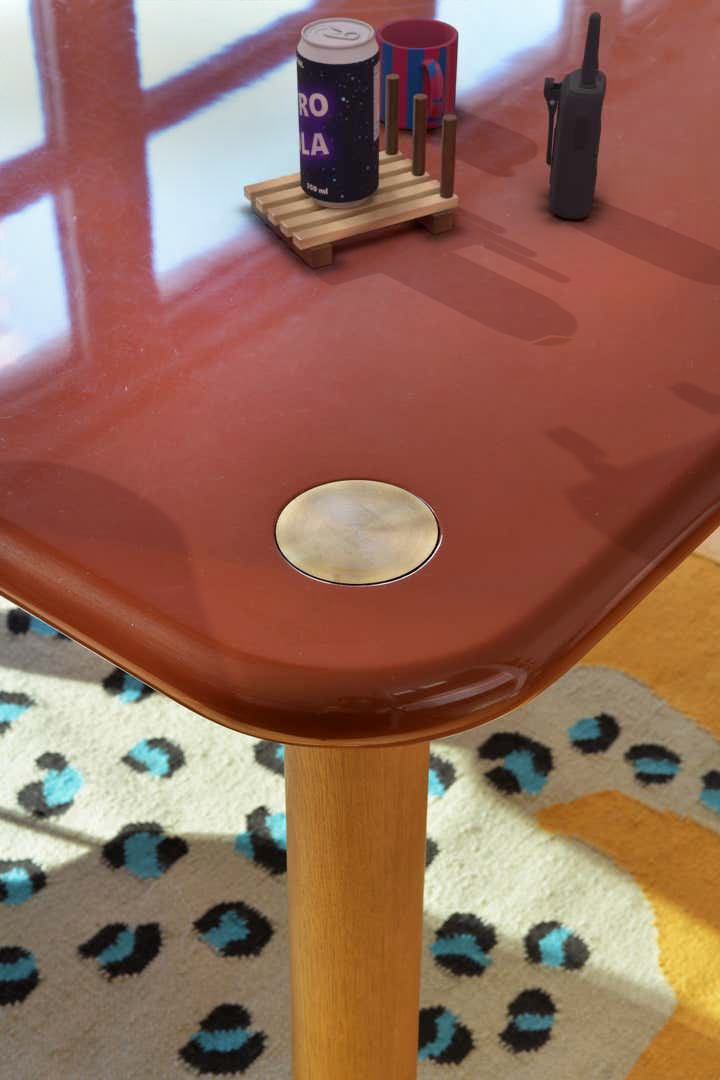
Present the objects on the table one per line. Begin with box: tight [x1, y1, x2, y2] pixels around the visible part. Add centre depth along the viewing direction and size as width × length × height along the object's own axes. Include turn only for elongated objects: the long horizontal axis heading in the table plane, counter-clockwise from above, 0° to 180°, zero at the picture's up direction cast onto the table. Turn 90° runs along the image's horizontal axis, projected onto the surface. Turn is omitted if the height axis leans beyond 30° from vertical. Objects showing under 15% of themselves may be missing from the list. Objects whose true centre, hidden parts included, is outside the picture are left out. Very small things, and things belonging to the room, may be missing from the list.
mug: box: [375, 17, 459, 131], centre depth 111 cm, size 7×10×7 cm
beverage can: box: [295, 17, 380, 209], centre depth 95 cm, size 6×6×12 cm
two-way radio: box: [543, 11, 607, 220], centre depth 98 cm, size 6×4×15 cm
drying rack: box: [243, 74, 460, 270], centre depth 98 cm, size 13×10×8 cm
